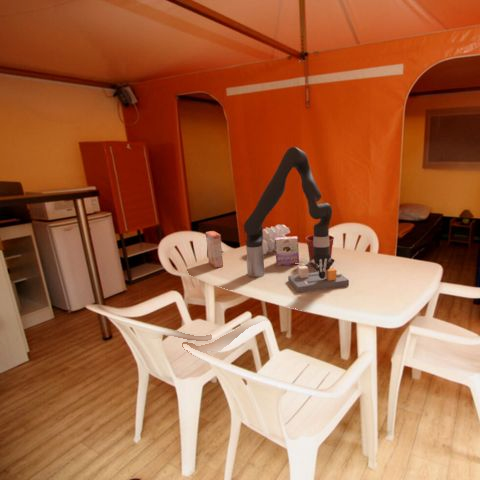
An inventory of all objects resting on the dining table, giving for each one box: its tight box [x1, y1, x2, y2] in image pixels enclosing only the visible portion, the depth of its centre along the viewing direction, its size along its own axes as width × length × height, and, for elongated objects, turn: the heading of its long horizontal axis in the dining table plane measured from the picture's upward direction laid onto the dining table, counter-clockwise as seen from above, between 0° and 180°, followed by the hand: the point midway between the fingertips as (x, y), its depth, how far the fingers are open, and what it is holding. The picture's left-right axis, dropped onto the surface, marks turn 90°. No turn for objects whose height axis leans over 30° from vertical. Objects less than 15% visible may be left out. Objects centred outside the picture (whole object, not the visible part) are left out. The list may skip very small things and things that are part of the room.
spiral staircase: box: [263, 224, 291, 255], centre depth 227 cm, size 18×18×25 cm
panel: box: [287, 270, 350, 294], centre depth 167 cm, size 26×16×4 cm, turn 99°
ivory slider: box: [297, 265, 309, 278], centre depth 169 cm, size 4×4×5 cm
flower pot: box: [305, 234, 335, 266], centre depth 194 cm, size 16×16×16 cm
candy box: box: [275, 235, 300, 266], centre depth 200 cm, size 14×6×16 cm, turn 84°
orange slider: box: [325, 267, 337, 281], centre depth 163 cm, size 4×4×5 cm
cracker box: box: [205, 230, 224, 269], centre depth 208 cm, size 14×6×21 cm, turn 22°
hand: (321, 278), depth 163 cm, fingers closed
